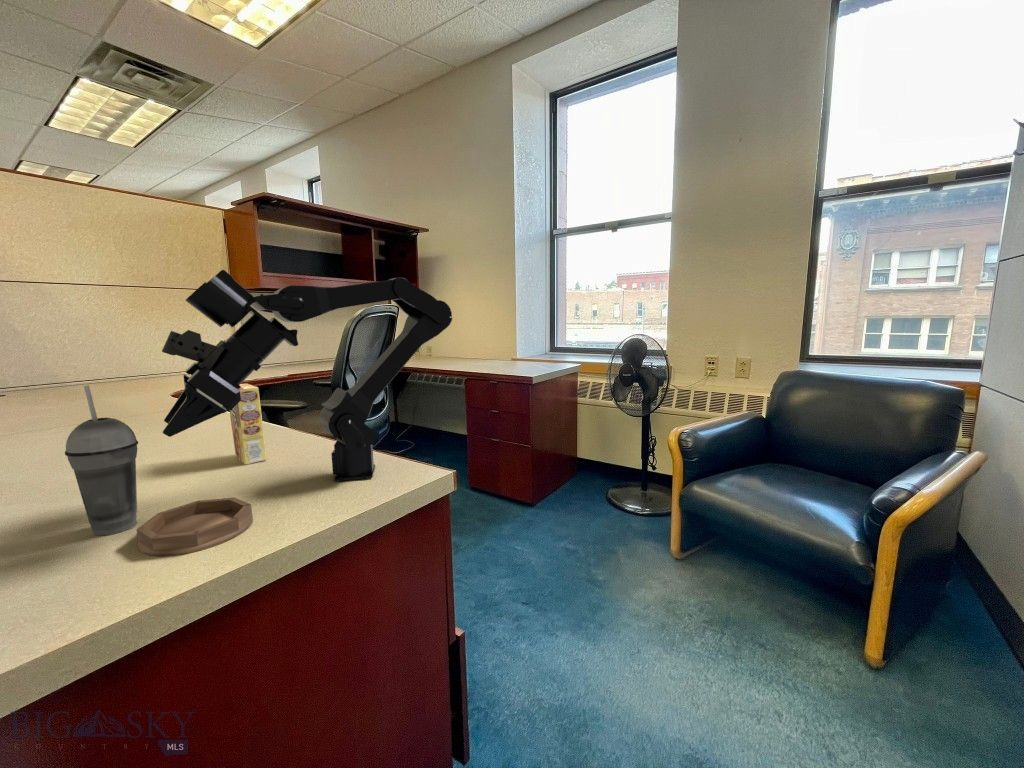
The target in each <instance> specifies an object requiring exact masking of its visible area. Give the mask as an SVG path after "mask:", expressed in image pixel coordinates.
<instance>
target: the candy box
mask: <svg viewBox="0 0 1024 768" xmlns="http://www.w3.org/2000/svg"><path fill="white" fill-rule="evenodd" d="M240 386H241V387H240V388H239V389H238V390H239V391H240V396H241V401H240V402H239V403H238V404H237V405H236V406H235V407H234V408H233V409H232V410H229V416H230V423H231V432H232V438H233V440H232V441H233V445H234V455H235V456H236V458H238V459H239V460H240V462H242V463H243V464H244V465H250V464H255V463H258V462H259V463H261V462H264V461H267V454H266V452H267V451H266V445H265V444H266V443H265V435H264V424H263V417H262V407H261V400H260V399H261V398H260V389H259V387H258V386H255V385H252V384H250V383H241V384H240Z"/></svg>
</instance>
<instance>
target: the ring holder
mask: <svg viewBox="0 0 1024 768" xmlns="http://www.w3.org/2000/svg"><path fill="white" fill-rule="evenodd" d="M252 510H253V509H252V503H249V502H246V501H244V500H242V499H240V498H237V497H226V498H225V497H223V498H212V499H211V498H210V499H202V500H201V499H200V500H195V501H192V502H190V503H187V504H183V505H178V506H176V507H173V508H169V509H167V510H163V511H161V512H158V513H156V514H155V515H154V516H152V517H150V519H147V521H146V522H144V523H142V524H141V525H139V526H138V528H136V534H137V547H138V550H139V551H140V552H141V553H142V554H145V555H147V556H152V557H153V556H154V557H169V556H180V555H184V554H191V553H194V552H199V551H203V550H206V549H209V548H212V547H216V546H218V545H221V544H223V543H226V542H228V541H231V540H232V539H235V538H236V537H238V536H240V535H241V534H243V533H245V531H247V530H248V529H249V528H250V527H251V526H252V524H253V522H254V515H253V511H252Z"/></svg>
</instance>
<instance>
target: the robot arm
mask: <svg viewBox="0 0 1024 768" xmlns="http://www.w3.org/2000/svg"><path fill="white" fill-rule="evenodd" d="M184 301H185V302H187V303H188V304H189V305H190V306H191V307H193V308H195V309H196V310H197V311H199V312H200V313H201V314H202V315H204V317H206V318H207V319H209V320H210V321H212V323H214V324H216V325H217V326H218V327H219V328H222V327H223V326H225V325H229V327H231V328H234V327H235V326H237V325H238V324H239V323H240V322H241V321H242V320H243V319H244V318H245V317H246V316H248V314H249V313H250V314H251V316H250V317H249V318H248V319H247V320H246V321H244V323H242V325H241V326H239V328H237V330H235V331H234V332H233V333H232V334H231V335H230V336H229V337H228V338H227V339H224V340H220V341H219V342H218V343H217V344H214V345H213V344H212V343H209V342H206V341H202V334H201V333H199V332H195V331H193V330H189V329H188V330H186V331H184V332H183V333H179V332H177V331H173V330H170V331H169V335H168V336H167V338H166V340H165V343H164V345H163V347H162V349H161V353H164V354H167V355H170V356H179V357H181V358H185V359H187V360H192V361H194V362H193V363H192V364H191V365H190V366H189V367H188V368H186V370H184V371H185V373H186V374H185V373H183V383H184V388H183V391H182V392H181V394H180V395H179V396H178V398H177V400H176V401H175V403H174V405H172V407H171V409H170V410H169V412H168V414H166V416H165V418H163V419H164V420H163V421H164V423H165V424H166V426H165V427H164V429H163V430H162V434H163V435H165V436H167V437H171V438H172V437H173V436H175V435H178V434H180V433H182V432H184V431H186V430H188V429H190V428H192V427H195V426H197V425H199V424H201V423H203V422H206V421H208V420H211V419H212V418H214V417H217V416H219V415H222V414H225V413H227V411H228V410H229V411H230V410H232V409H233V408H234V407H235V406H236V405H237V404H238V403H239V402H240V401H241V396H240V391H239V390H238V389H239V388H240V387H241V386H240V384H243V382H245V380H246V379H247V378H248V377H249V376H250V375H251V374H252V373H253V372H254V371H255V372H258V370H259V369H260V368H261V367H262V365H261V364H262V363H263V362H264V361H265V360H266V359H267V358H268V357H269V356H270V354H272V353H273V352H274V351H275V350H276V349H277V348H278V347H279V346H280V345H281V344H282V343H283V342H284V341H285V342H286V343H287V344H288V345H289V346H292V347H298V346H299V341H298V332H299V331H298V329H295V328H293V329H289V328H288V327H286V326H285V325H284V324H282V322H285V323H299V322H300V323H302V322H305V321H308V320H310V319H313V318H317V317H318V316H319V317H320V316H322V315H325V314H327V313H329V312H332V311H334V310H338V309H343V308H350V307H355V306H360V305H367V304H374V303H380V302H387V301H392V302H393V303H395V304H396V305H397V306H398V308H399V309H400V310H401V311H402V312H403V313H405V314H406V315H408V316H407V318H406V319H405V323H404V325H403V328H402V330H401V333H400V334H399V335H398V336H397V337H396V338H395V339H394V340H393V341H392V342H391V344H389V346H388V347H387V348H386V349H385V350H384V351H383V353H382V354H380V356H379V357H378V358H377V359H376V360H375V362H374V363H373V364H372V365H371V366H370V367H369V369H367V371H366V372H365V373H364V374H363V375H361V376H362V377H361V378H360V379H359V380H358V381H357V382H356V383H355V384H354V385H353V386H352V387H350V388H349V389H346V390H344V389H341V388H339V387H337V388H336V389H335V390H334V391H333V392H332V394H331V395H330V397H329V398H328V399H327V400H326V401H324V402H322V403H321V406H322V407H323V408H322V409H321V410H320V412H319V423H320V426H321V428H322V429H324V431H325V432H327V433H328V434H330V435H331V437H332V438H333V440H336V442H334V445H333V450H332V452H331V455H330V456H331V465H332V466H331V468H332V475H333V476H334V481H335V482H340V481H341V482H343V481H353V480H363V479H364V478H366V479H372V478H373V477H374V474H373V473H375V471H376V470H375V469H376V464H374V449H373V448H374V447H373V445H374V444H375V442H376V438H377V435H378V434H377V432H376V431H375V430H373V428H371V427H370V426H368V425H367V424H366V422H367V420H368V419H369V416H370V414H371V411H372V410H373V409H372V408H373V405H374V402H375V401H376V399H378V397H379V396H380V394H382V393H383V392H384V390H385V389H386V388H387V386H388V385H389V384H390V383H391V381H393V379H394V378H395V377H396V376H397V375H398V374H399V372H401V370H402V369H403V368H404V367H405V366H406V364H408V362H409V361H410V360H411V359H412V357H413V356H415V355H414V354H416V353H417V351H418V350H419V349H420V348H421V346H423V345H424V344H425V343H427V342H429V341H431V340H433V339H434V338H436V337H438V336H439V335H440V334H442V332H443V331H445V330H446V329H447V328H448V327H449V326H450V325H451V323H452V321H453V317H452V315H453V314H452V310H451V307H450V306H449V305H448V303H447V302H446V301H443V300H440V299H439V300H437V299H436V298H435V297H434V296H432V294H429V293H427V292H426V291H425V290H422V288H419V287H418V286H415V285H414V284H413V282H411V281H409V280H408V279H406V278H404V277H401V276H400V277H394V278H390V279H388V280H387V279H386V280H380V281H373V282H372V281H371V282H365V283H358V284H357V283H356V284H350V285H341V286H334V287H333V286H332V287H331V286H330V287H329V286H328V287H327V286H314V285H296V284H295V285H289V286H285V287H282V288H279V289H277V290H275V291H274V293H273V294H265V295H264V294H263V293H261V294H258V295H255V296H254V295H253V294H251V292H249V291H248V290H247V289H246V288H244V287H243V286H242V285H241V284H240V283H239V282H237V281H236V280H235V278H234V277H233V276H232V275H231V274H230V273H229V272H227V271H226V270H225V269H221V270H220V271H219V272H218V273H217V274H216V275H214V276H213V277H212V278H211V279H210V280H208V281H207V282H206V281H205V282H204V283H202V285H200V286H199V287H198V288H196V289H195V290H194V291H193V292H192V293H191V294H190V295H189V296H188V297H187V298H185V300H184ZM258 311H259V312H258ZM260 312H264V313H269V314H273V315H274V316H275V317H271V318H270V319H268V318H267V317H265V316H263V314H261V313H260ZM278 319H279V320H280V321H279V320H278ZM281 321H282V322H281ZM187 374H188V375H187ZM189 375H190V376H189ZM227 409H228V410H227ZM371 477H372V478H371ZM364 480H365V479H364Z"/></svg>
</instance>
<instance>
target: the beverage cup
mask: <svg viewBox="0 0 1024 768" xmlns="http://www.w3.org/2000/svg"><path fill="white" fill-rule="evenodd" d="M83 389H84V393H85V397H86V400H87V404H88V408H89V412H90V417H91V419H88V420H85V421H83V422H82V423H80V424H78V425H77V426H76V427H75V428H74V429H73V430H71V432H70V433H69V435H68V437H67V439H66V442H65V451H64V455H65V456H66V457H67V461H68V463H69V464H70V467H71V469H72V470H73V471H74V472H73V473H74V475H75V478H76V482H77V485H78V489H79V492H80V493H79V494H80V496H81V499H82V504H83V506H84V509H85V513H86V517H87V520H88V523H89V525H90V527H91V530H92V534H93V535H94V536H96V535H98V537H99V536H100V537H103V536H102V535H105V536H111V535H114V534H115V535H116V534H119V533H122V532H125V531H128V530H130V529H132V528H133V527H135V526H136V525H137V524H136V523H138V520H137V517H138V516H137V514H138V497H137V495H138V493H137V465H136V463H137V460H136V458H137V456H138V455H137V454H138V444H139V441H138V440H137V437H136V434H135V432H134V431H133V429H132V427H130V426H129V425H128V424H126V423H125V422H124V421H121V420H119V419H116V418H111V417H98V416H97V412H96V408H95V404H94V400H93V395H92V392H91V388H90V385H84V386H83Z"/></svg>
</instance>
